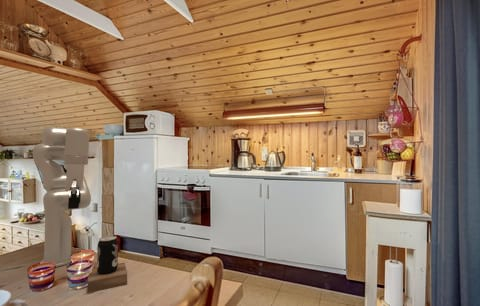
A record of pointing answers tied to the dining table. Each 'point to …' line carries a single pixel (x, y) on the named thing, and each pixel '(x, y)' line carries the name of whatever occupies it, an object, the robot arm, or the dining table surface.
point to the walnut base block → (107, 279)
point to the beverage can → (107, 255)
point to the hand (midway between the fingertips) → (74, 205)
